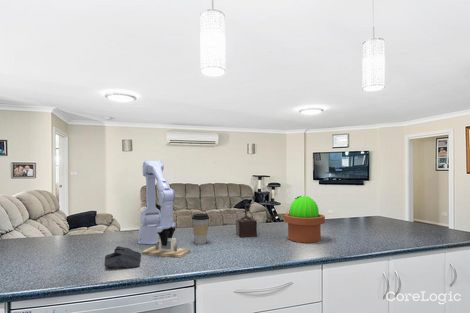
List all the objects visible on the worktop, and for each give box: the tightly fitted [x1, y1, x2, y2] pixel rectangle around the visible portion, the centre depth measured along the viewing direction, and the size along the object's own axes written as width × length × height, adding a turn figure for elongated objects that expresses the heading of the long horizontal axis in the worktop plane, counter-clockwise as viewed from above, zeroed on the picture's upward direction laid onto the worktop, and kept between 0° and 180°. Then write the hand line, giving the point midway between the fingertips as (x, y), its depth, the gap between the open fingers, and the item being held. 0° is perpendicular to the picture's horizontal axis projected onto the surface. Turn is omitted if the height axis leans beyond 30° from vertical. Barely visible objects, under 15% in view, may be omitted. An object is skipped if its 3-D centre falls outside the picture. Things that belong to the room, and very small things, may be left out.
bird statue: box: [235, 203, 258, 239], centre depth 177 cm, size 16×11×18 cm
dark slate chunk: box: [104, 245, 142, 270], centre depth 124 cm, size 15×22×5 cm
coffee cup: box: [191, 213, 210, 245], centre depth 156 cm, size 9×9×15 cm
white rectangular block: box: [158, 237, 177, 252], centre depth 137 cm, size 7×3×6 cm, turn 74°
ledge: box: [141, 242, 191, 258], centre depth 137 cm, size 20×10×4 cm, turn 74°
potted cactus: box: [283, 195, 326, 244], centre depth 164 cm, size 22×22×25 cm
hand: (166, 244), depth 137 cm, fingers closed on white rectangular block, 3 cm apart
